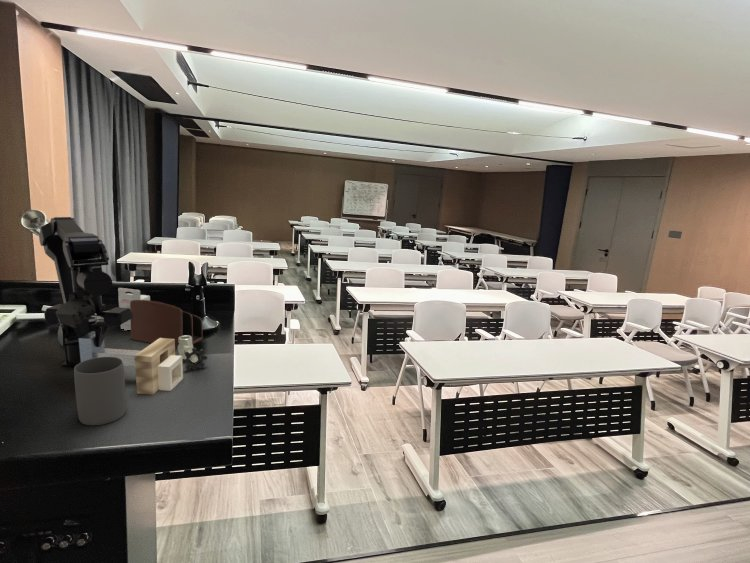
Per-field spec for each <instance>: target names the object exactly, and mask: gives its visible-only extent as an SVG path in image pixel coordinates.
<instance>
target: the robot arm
mask: <svg viewBox="0 0 750 563" xmlns="http://www.w3.org/2000/svg"><path fill="white" fill-rule="evenodd" d="M38 239H39V244H40V246H41V247H43V250H44V253H45V255H46V256H48V257H49V258H50V259H51V261H53V262H54V266H55V271H56V275H57V280H58V283H59V284H58V285H59V288H60V294H61V296H62V297H61V298H62V300H63V303H59V304H55V305H53V306H49V307H47V308H46V309H45V311H44V314H43V315H44V316H43V317H44V321H48V322H49V321H51V322H56V321H59V326H58V330H57V339H58V343H59V344H60V346H62V347H63V348H64V356H65V358H64V359H65V361H64V362H62V363H61V366H63V367H75V366H76V365H77V364H79V363H81V358H80V348H79V338H80V337H82V336H84V335H86V334H88V333H90V332H92V331H95V338H96V345H97V347H100V346H101V344H102V342H103V340H104V341H105V337H106V335H107V333H108V330H109V329H110V327H111V325H114V326H119V325H120V326H121V324H123V323H125V322H126V321H128V320H130V319H132V318H133V314H132V311H131V310H130V308H121V307H119V306H116V307H113V308H111V309H109V310H105V309H106V308H107V306H106V304H105V303H103V299H102V297H103V295H105V294H107V293H109V292H110V290H111V289H112V287H113V280H112V277H111V276H110V274H108V273H106V272H105V271H104V270H102V269H103V268H102V266H108V265H109V260H110V256H109V254H108V250H107V248H106V245H105V243H103V240H101V239H100V238H99V236H97V235H96V234H94V233H89V232H85V231H84V230H83V229H82V228H81V227H80V225H78V224H77V223H76V219H75V218H74V217H70V216H55V217H51V218H50V220H49V222H48V223H46V224H44V225H43V226H41V227H40V229H39V234H38Z"/></svg>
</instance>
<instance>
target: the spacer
mask: <svg viewBox="0 0 750 563" xmlns="http://www.w3.org/2000/svg"><path fill="white" fill-rule="evenodd" d="M183 368H184V367H183V363H182V356H179V355H176V354H175V355H170V356H169V357H168V358H167V359H165V360H164V361H163V362H162V363H161V364H159V365H158V366H157V369H158V387H159V390H158V391H167V392H170V391H173V389H174V388H175V387H176V386H177V385H178V384H179V383H180V382H181V381H182V380H183V379H184V371H183V370H184V369H183Z"/></svg>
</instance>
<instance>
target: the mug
mask: <svg viewBox="0 0 750 563" xmlns="http://www.w3.org/2000/svg"><path fill="white" fill-rule="evenodd" d="M73 375H74V376H73V378H74V388H75V389H74V390H75V391H74V392H75V399H76V409H77V415H78V419H79V421H80V423H81V424H83V425H85V426H101V425H106V424H109V423H112V422H115V421H117V420H119V419H120V418H122V417H123V416H125V413H126V412H127V397H126V396H127V394H126V393H127V392H126V381H125V379H126V378H125V367H124V366H123V362H122V360H121V359H119V358H116V357H98V358H93V359H89V360H86V361H83V362H81V363H79V364H77V365H76V366H74V368H73Z"/></svg>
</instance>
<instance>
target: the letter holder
mask: <svg viewBox="0 0 750 563" xmlns="http://www.w3.org/2000/svg"><path fill="white" fill-rule="evenodd" d="M130 310H131V311H132V314H133V318H132V319H130V322H131V331H130V339H131V340H132V339H133V340H132V341H137V340H138V342H143V343H147V344H152V343H153V342H155V341H156V340H157V339H159V338H168V339H175V350H178V345H179V342H178V338H179V337H180V336H184V335H189V336H191V337H192V344H193V345H194V344H197V343H199V342H202V341H203V340H204V339H203V338H204V336H203V334H204V333H203V320H202V318H201V317H200V316H197V315H195V314H191V313H190V312H186V311H184V310H182V309H181V308H180V307H178V306H175V305H172V304H168V303H166V302H165V303H164V302H160V301H155V300H150V301H149V300H132V301H131V302H130Z"/></svg>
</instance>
